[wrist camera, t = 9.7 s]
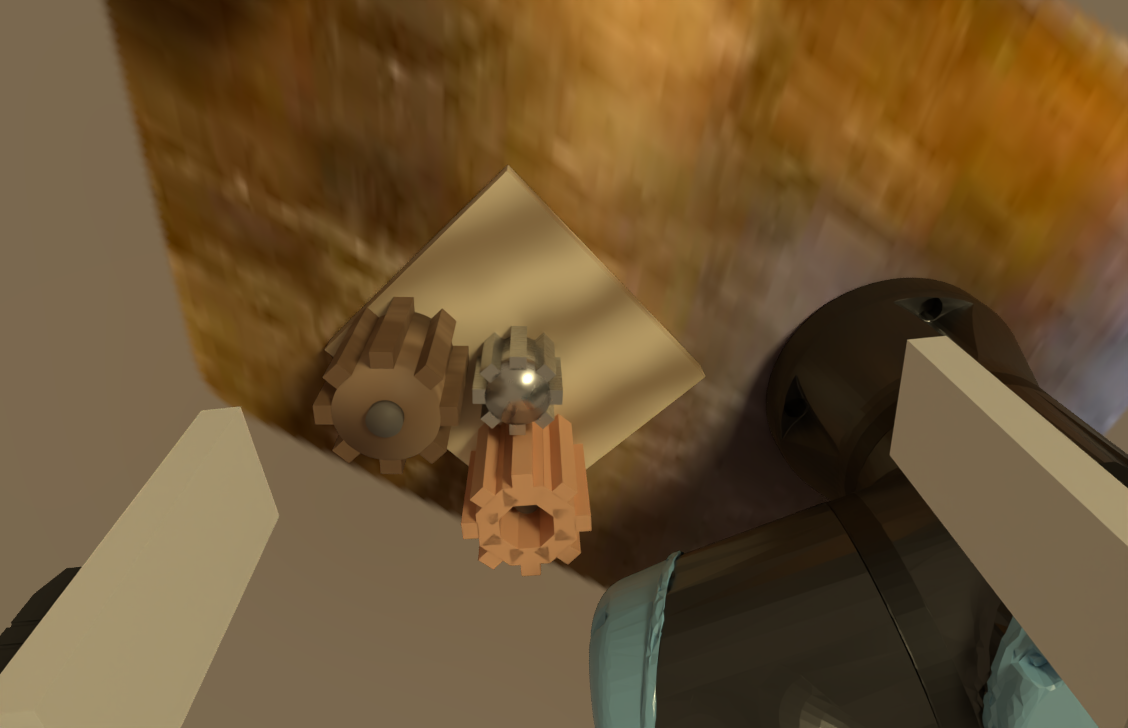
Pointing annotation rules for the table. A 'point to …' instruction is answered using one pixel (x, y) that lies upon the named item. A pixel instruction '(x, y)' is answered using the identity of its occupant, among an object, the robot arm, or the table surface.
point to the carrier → (543, 316)
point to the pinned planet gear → (394, 386)
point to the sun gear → (518, 381)
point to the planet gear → (526, 496)
